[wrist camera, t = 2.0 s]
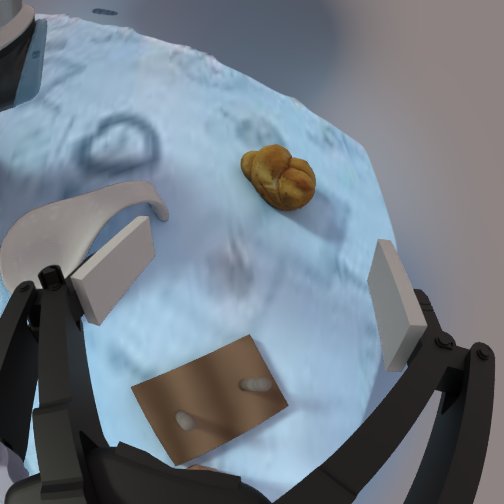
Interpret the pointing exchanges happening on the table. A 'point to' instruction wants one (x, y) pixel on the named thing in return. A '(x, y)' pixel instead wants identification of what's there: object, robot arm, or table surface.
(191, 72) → the table surface
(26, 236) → the spoon rest
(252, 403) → the pin board
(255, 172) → the bread roll
